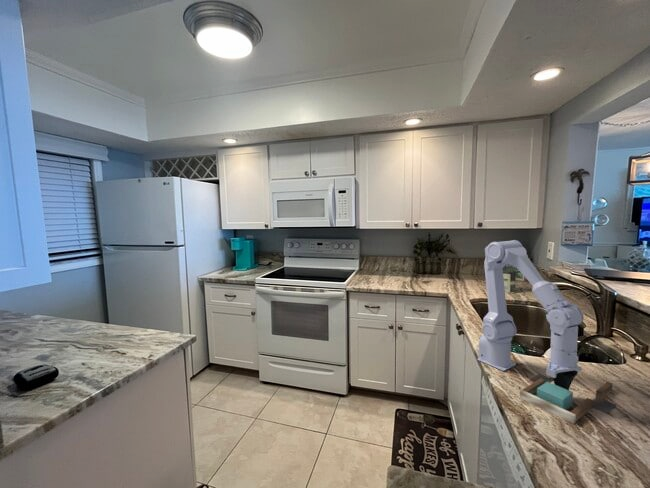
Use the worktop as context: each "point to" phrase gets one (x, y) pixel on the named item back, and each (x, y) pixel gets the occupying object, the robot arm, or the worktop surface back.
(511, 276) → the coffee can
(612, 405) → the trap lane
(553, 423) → the worktop surface
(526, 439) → the worktop surface
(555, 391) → the teal block
